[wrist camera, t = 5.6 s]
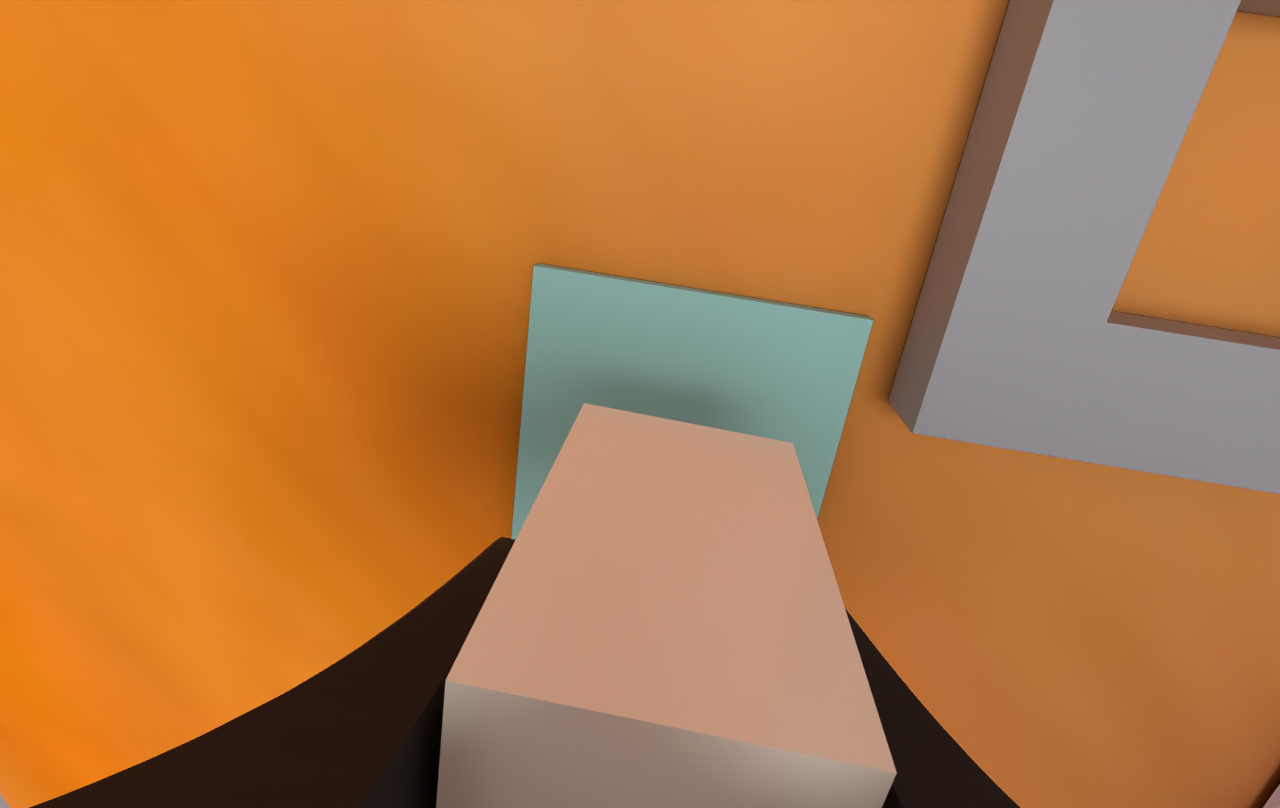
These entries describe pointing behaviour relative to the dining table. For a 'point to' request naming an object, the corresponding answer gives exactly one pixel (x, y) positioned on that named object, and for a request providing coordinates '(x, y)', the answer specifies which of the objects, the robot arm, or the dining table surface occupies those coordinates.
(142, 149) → the dining table surface
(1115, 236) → the pocket board
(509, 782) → the block
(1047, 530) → the dining table surface
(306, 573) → the dining table surface
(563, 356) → the pad
